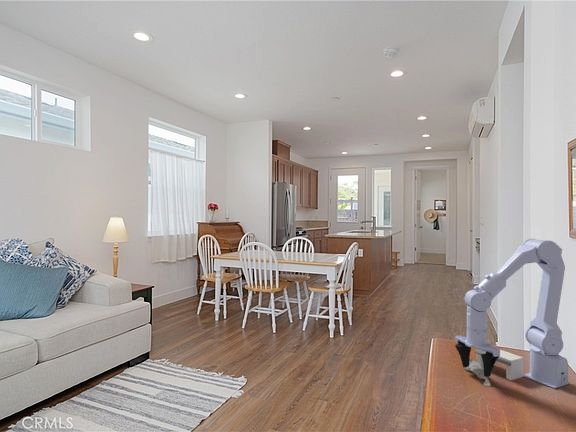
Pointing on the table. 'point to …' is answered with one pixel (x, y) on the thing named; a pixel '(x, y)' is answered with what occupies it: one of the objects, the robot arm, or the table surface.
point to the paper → (477, 371)
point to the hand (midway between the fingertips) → (476, 371)
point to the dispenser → (511, 360)
